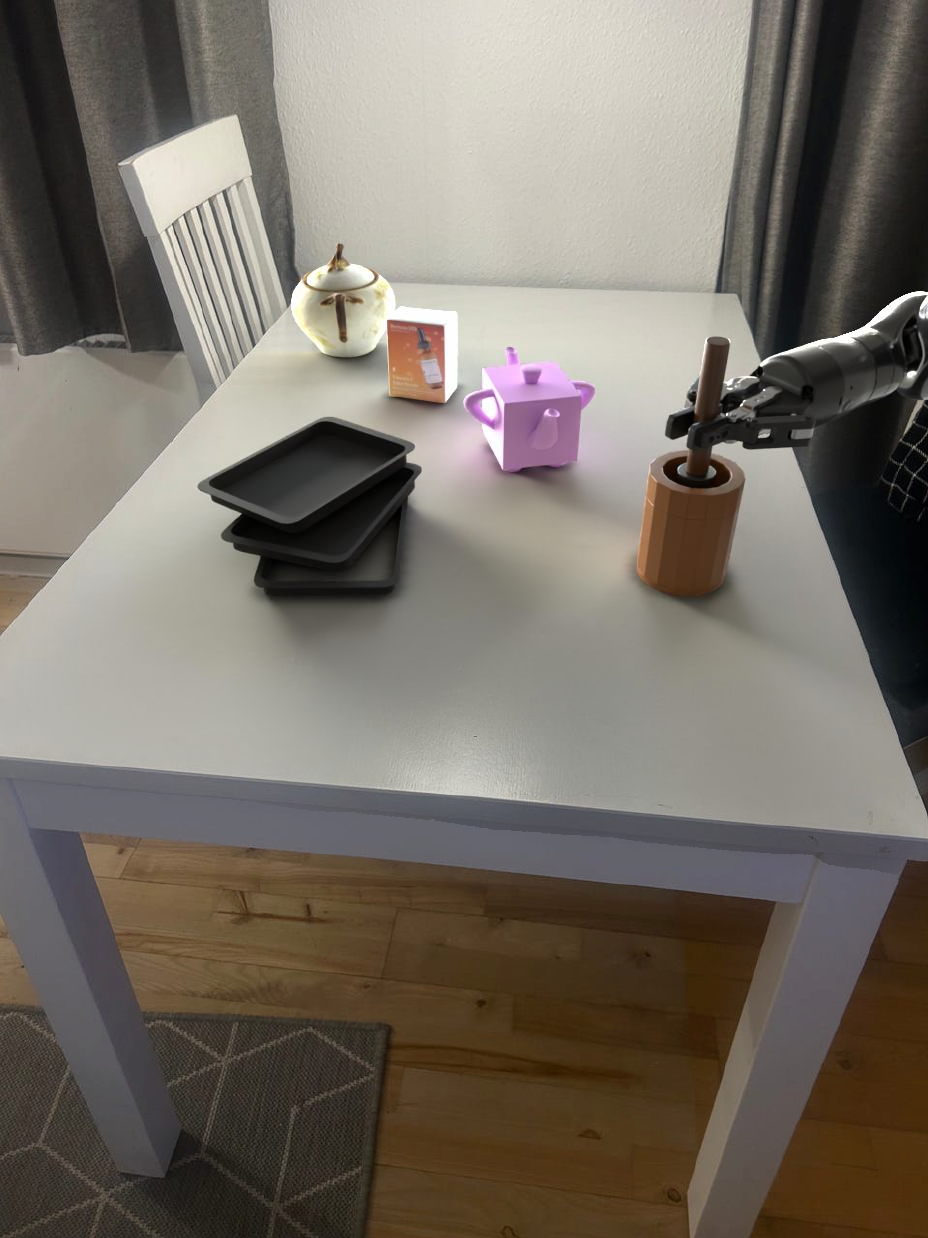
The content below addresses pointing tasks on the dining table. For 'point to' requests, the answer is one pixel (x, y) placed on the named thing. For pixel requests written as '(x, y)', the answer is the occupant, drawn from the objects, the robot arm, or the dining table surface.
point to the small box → (422, 354)
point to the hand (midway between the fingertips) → (680, 433)
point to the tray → (317, 502)
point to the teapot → (530, 413)
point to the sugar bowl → (343, 307)
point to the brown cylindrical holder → (688, 527)
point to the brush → (706, 413)
